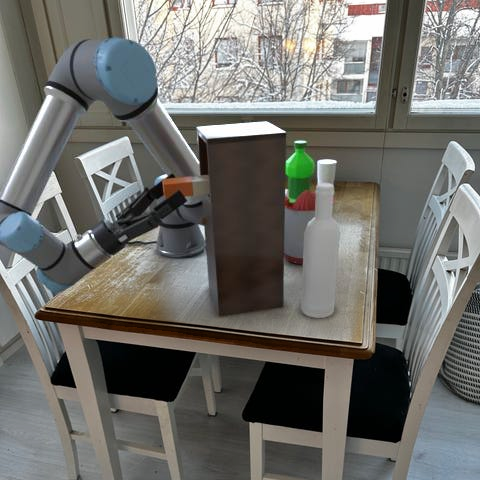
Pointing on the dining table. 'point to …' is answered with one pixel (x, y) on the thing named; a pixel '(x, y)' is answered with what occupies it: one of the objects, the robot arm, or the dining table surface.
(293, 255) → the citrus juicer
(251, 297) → the cupboard
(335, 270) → the bottle
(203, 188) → the block
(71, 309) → the dining table surface
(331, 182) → the white cup
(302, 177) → the plastic bottle
